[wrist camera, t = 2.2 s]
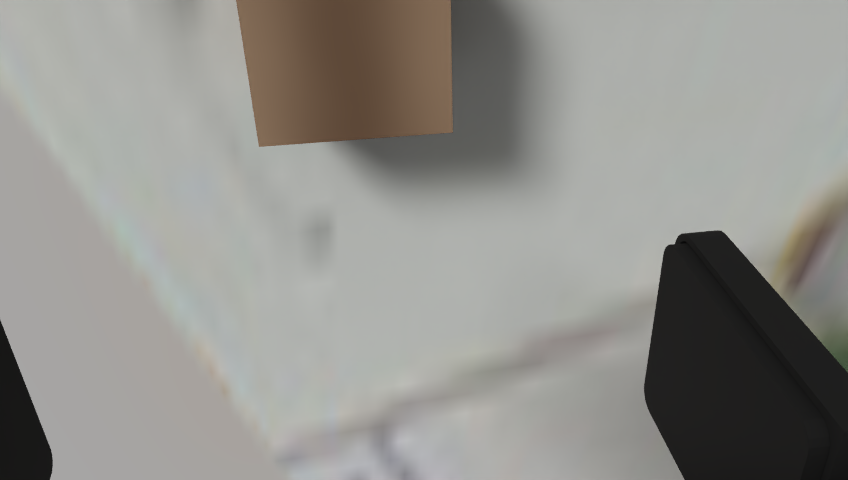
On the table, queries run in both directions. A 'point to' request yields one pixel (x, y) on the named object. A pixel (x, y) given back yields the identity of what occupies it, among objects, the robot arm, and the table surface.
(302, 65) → the walnut block
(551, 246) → the table surface
